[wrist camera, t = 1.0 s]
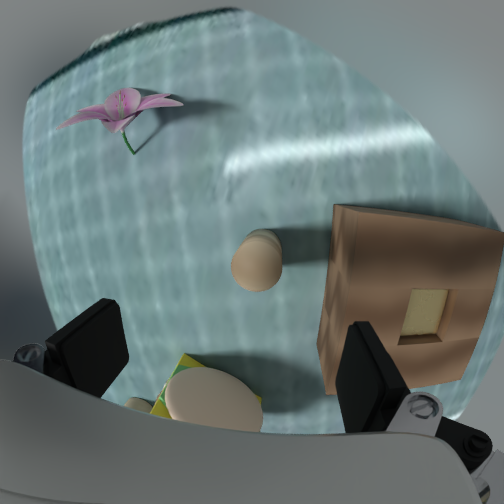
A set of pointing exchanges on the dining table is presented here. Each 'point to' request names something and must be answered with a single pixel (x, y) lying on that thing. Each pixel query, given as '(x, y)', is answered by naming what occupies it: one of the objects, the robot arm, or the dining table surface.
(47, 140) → the dining table surface
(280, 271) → the maple peg
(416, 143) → the dining table surface
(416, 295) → the tan square tile
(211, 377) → the hamburger
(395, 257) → the socket block
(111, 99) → the lily
